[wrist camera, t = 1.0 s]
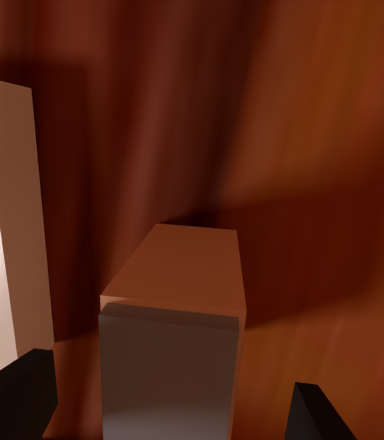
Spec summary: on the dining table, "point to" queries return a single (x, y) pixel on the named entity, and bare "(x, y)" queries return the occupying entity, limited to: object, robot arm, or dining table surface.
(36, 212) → the socket plate
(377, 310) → the dining table surface
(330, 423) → the robot arm
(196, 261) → the plug
